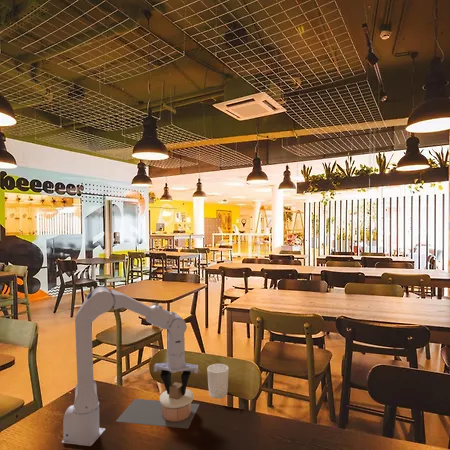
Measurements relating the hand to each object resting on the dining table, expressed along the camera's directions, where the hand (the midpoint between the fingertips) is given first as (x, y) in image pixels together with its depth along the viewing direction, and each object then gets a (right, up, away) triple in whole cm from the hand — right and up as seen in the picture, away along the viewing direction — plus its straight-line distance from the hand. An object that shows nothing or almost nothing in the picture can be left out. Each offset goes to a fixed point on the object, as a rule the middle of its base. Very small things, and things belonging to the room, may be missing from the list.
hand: (176, 393), depth 109 cm
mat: (-6, -7, +1) cm, 9 cm away
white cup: (+14, -7, +13) cm, 20 cm away
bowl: (0, -7, 0) cm, 7 cm away
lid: (0, -2, 0) cm, 2 cm away
